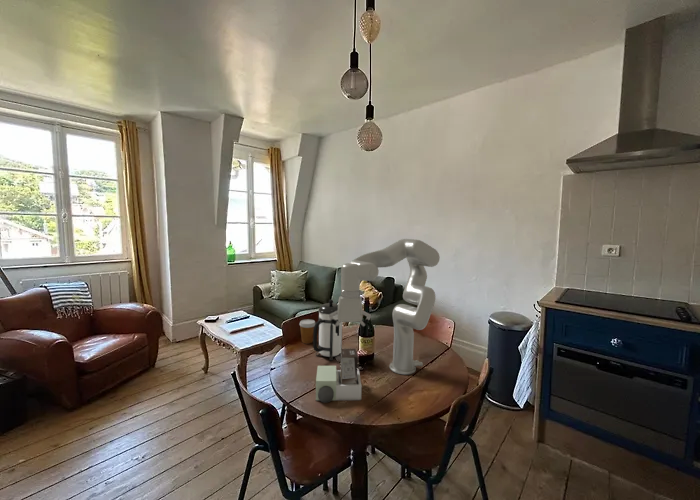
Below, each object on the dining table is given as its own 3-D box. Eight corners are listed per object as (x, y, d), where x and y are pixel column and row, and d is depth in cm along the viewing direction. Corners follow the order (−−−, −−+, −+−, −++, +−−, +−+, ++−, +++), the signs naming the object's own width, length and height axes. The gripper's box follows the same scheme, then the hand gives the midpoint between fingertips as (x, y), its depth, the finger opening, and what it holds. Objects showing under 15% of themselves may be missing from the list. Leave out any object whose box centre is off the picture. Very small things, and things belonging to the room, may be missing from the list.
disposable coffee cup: (314, 345, 176) (314, 324, 175) (297, 344, 176) (298, 324, 175) (316, 338, 186) (316, 319, 185) (300, 338, 186) (300, 318, 185)
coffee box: (357, 396, 123) (358, 357, 122) (341, 396, 123) (341, 357, 122) (354, 384, 133) (355, 348, 131) (339, 384, 132) (340, 348, 131)
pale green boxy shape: (358, 381, 137) (358, 364, 136) (361, 402, 121) (362, 383, 120) (317, 381, 136) (317, 364, 135) (315, 402, 120) (315, 383, 119)
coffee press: (314, 349, 170) (315, 296, 167) (343, 349, 171) (344, 296, 168) (312, 363, 153) (313, 304, 150) (344, 363, 154) (346, 304, 151)
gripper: (370, 291, 129) (369, 331, 131) (329, 291, 128) (328, 331, 130) (372, 296, 122) (371, 338, 123) (328, 296, 121) (328, 338, 122)
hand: (349, 334), depth 126 cm, fingers open, 9 cm apart
